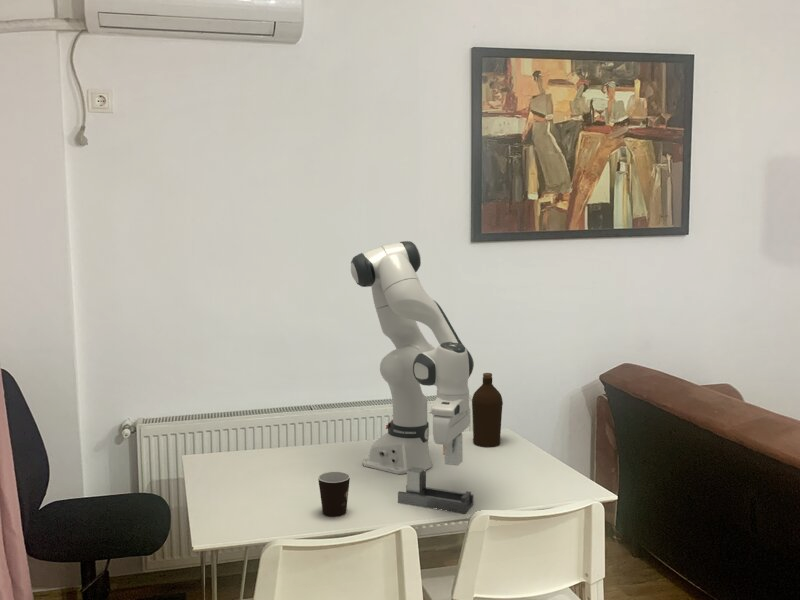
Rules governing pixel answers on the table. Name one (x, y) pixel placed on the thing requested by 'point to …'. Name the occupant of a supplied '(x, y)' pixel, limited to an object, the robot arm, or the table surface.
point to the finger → (457, 454)
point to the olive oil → (487, 414)
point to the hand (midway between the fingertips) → (452, 451)
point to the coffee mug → (334, 493)
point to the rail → (432, 494)
